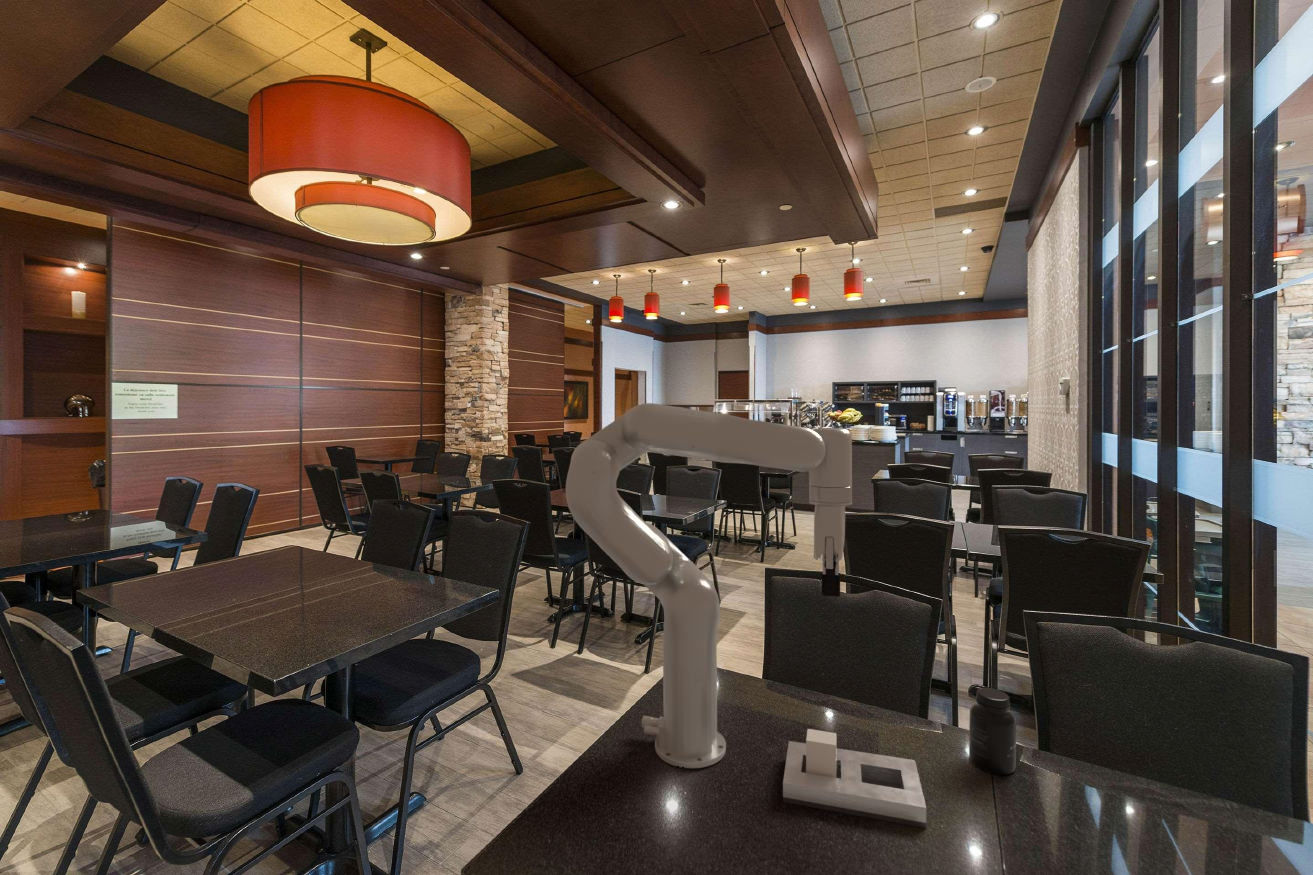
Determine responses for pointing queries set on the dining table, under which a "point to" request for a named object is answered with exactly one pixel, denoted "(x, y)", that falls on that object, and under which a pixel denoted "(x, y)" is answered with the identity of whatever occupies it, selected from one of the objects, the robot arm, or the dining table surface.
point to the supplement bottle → (992, 732)
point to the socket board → (858, 786)
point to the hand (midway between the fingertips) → (831, 594)
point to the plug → (821, 753)
